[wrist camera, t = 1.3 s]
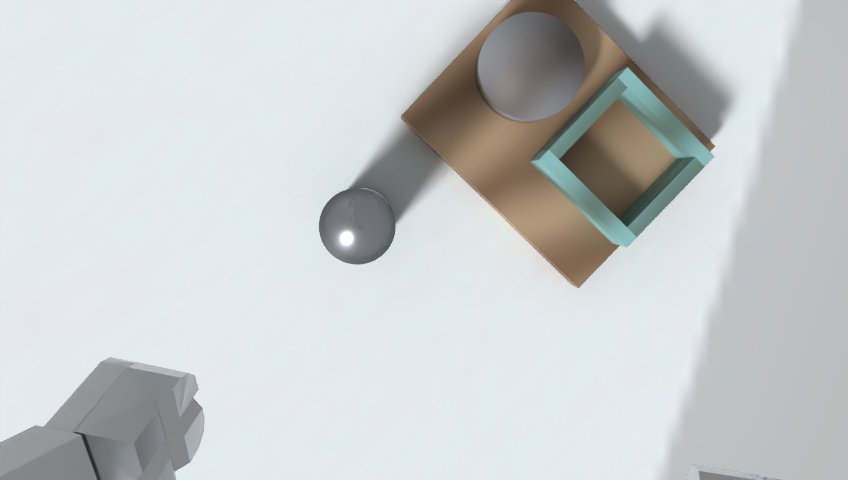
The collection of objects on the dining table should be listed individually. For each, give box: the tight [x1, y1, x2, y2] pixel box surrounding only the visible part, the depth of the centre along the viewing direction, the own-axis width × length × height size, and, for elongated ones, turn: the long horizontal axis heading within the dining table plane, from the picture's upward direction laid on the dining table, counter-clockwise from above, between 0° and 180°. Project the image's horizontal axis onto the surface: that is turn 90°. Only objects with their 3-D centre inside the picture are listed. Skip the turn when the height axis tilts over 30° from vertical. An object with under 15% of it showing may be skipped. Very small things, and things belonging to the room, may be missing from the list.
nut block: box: [401, 0, 715, 288], centre depth 41 cm, size 15×12×4 cm
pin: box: [319, 188, 395, 264], centre depth 38 cm, size 4×4×10 cm
